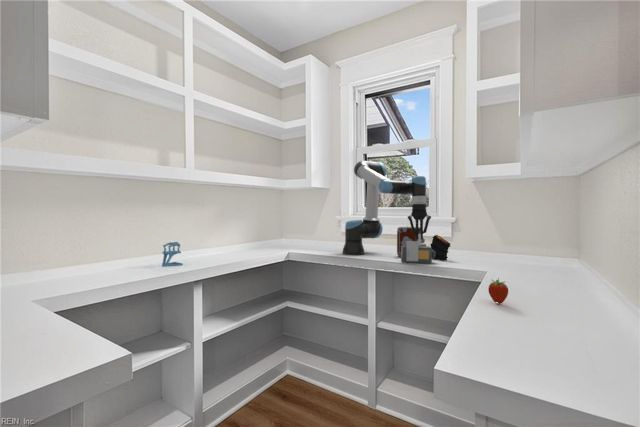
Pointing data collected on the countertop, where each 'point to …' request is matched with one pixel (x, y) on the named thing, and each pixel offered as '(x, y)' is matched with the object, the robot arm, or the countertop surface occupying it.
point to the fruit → (498, 291)
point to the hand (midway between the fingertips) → (419, 245)
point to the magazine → (440, 248)
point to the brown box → (406, 237)
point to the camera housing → (419, 255)
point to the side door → (412, 251)
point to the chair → (171, 254)
